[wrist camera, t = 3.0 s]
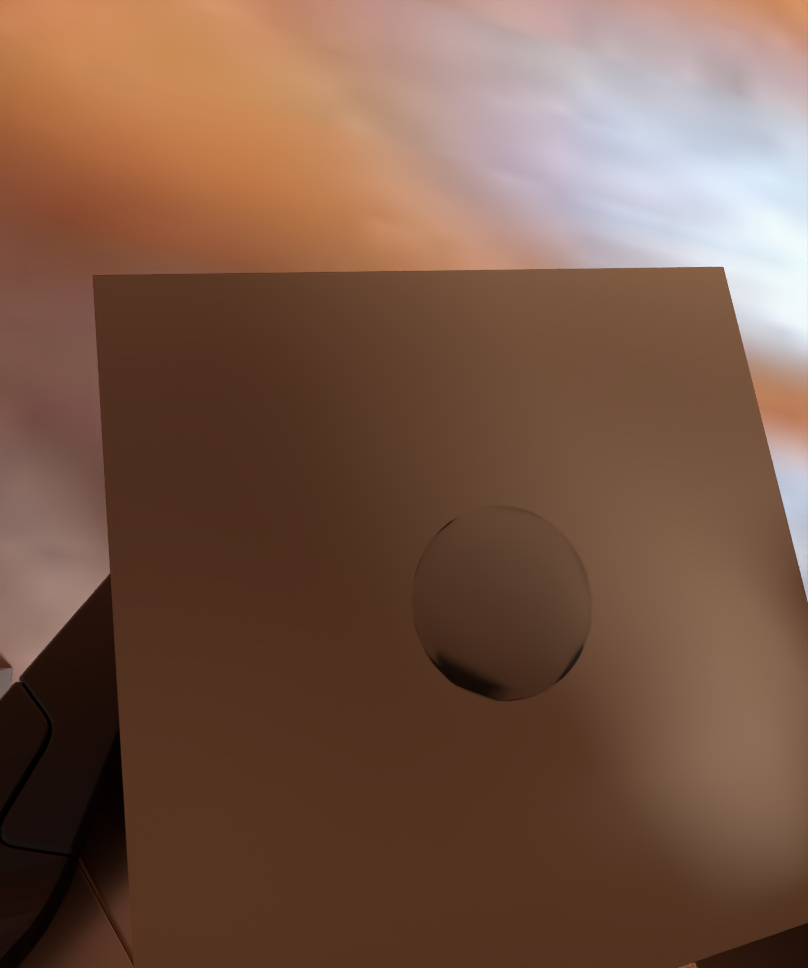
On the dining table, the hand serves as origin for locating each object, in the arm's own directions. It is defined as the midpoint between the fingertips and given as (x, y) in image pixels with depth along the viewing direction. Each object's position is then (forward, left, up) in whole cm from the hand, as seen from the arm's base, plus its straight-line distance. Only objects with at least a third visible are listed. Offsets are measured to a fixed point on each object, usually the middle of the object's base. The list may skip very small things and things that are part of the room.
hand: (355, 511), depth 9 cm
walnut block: (-1, 0, -7) cm, 7 cm away
